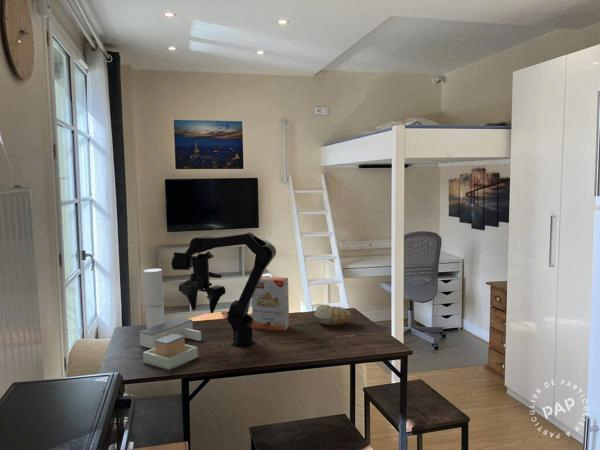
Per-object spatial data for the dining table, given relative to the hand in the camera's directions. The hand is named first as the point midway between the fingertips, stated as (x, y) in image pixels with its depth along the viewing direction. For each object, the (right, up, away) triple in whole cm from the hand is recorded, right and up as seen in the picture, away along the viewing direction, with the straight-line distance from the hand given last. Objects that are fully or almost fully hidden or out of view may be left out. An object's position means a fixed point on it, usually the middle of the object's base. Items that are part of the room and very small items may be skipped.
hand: (202, 311), depth 174 cm
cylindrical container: (-23, -11, +17) cm, 31 cm away
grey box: (-8, -13, -15) cm, 21 cm away
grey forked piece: (-11, -12, +4) cm, 17 cm away
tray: (-8, -14, -15) cm, 22 cm away
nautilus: (+49, -9, +23) cm, 55 cm away
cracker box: (+24, -10, +17) cm, 31 cm away
